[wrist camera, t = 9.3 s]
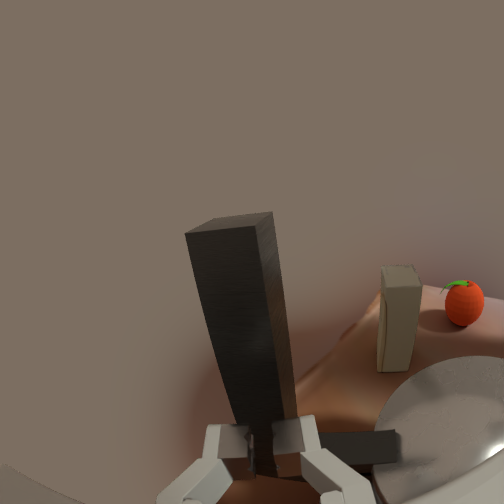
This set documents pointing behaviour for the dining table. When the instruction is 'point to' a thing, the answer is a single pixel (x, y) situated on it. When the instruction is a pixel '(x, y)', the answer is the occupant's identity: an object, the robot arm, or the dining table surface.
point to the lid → (282, 381)
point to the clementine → (464, 302)
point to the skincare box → (398, 317)
